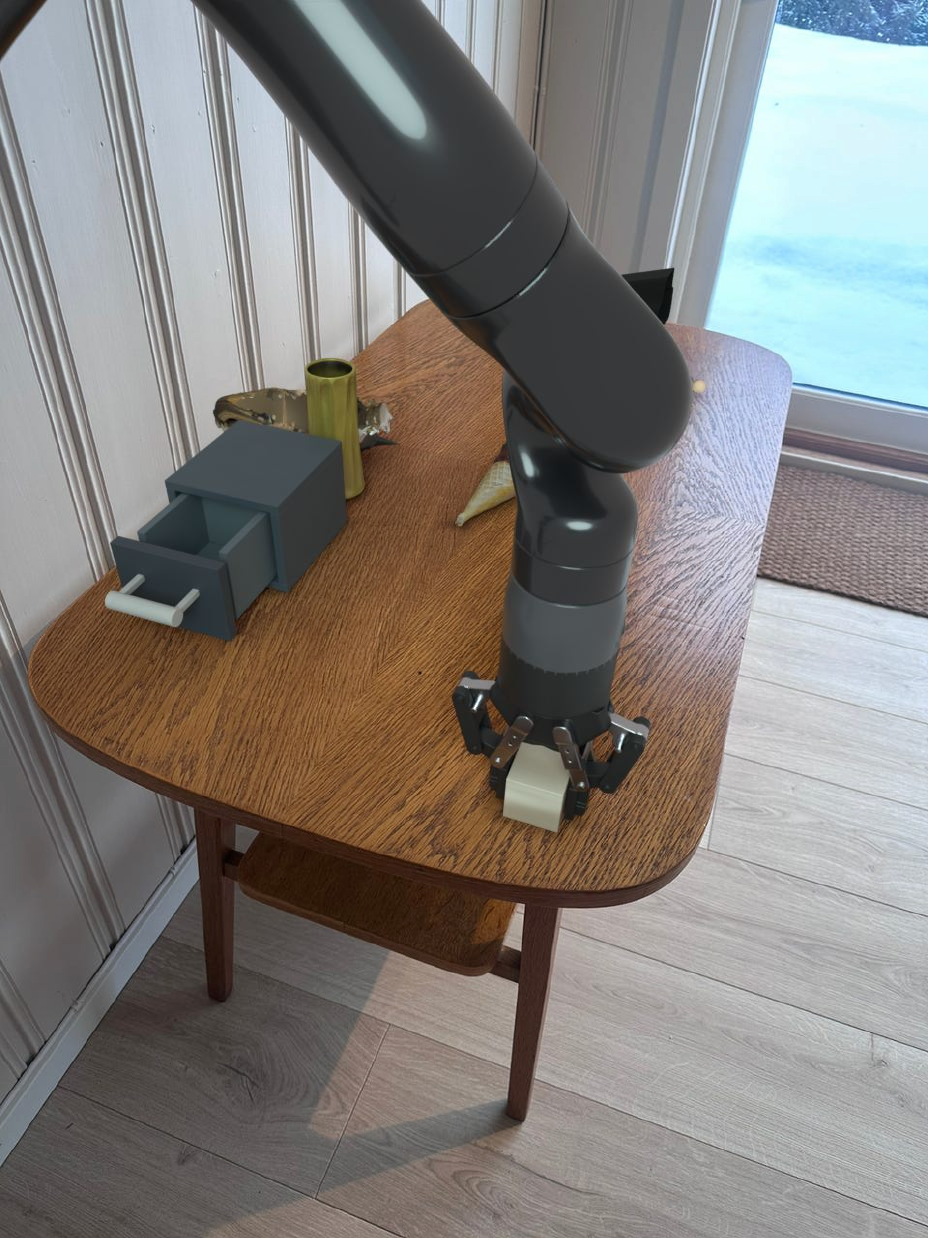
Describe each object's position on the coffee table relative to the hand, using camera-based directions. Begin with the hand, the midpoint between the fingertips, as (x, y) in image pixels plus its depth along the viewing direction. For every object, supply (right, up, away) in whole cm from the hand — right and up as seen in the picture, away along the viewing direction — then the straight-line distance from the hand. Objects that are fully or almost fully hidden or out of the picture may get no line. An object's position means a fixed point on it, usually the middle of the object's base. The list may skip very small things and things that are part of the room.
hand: (537, 800), depth 66 cm
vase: (-20, +28, +34) cm, 49 cm away
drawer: (-30, +15, +16) cm, 37 cm away
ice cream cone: (-6, +24, +28) cm, 38 cm away
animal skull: (-25, +37, +28) cm, 53 cm away
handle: (+15, +58, +73) cm, 94 cm away
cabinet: (-26, +21, +25) cm, 42 cm away
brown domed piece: (+24, +47, +57) cm, 78 cm away
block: (0, 0, 0) cm, 0 cm away
